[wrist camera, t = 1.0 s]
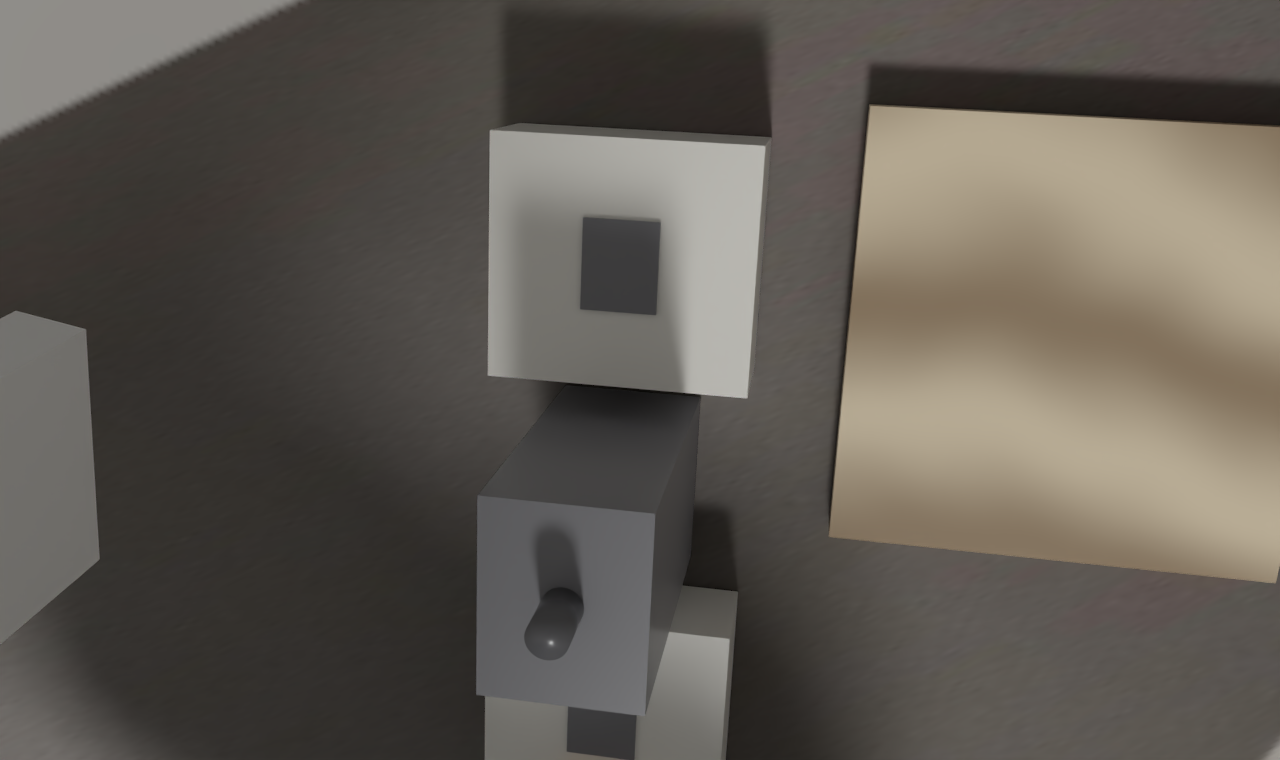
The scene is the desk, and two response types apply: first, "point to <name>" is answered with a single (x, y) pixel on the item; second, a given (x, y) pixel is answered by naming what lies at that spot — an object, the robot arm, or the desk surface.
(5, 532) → the robot arm
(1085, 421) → the birch board
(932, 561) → the desk surface
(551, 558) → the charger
